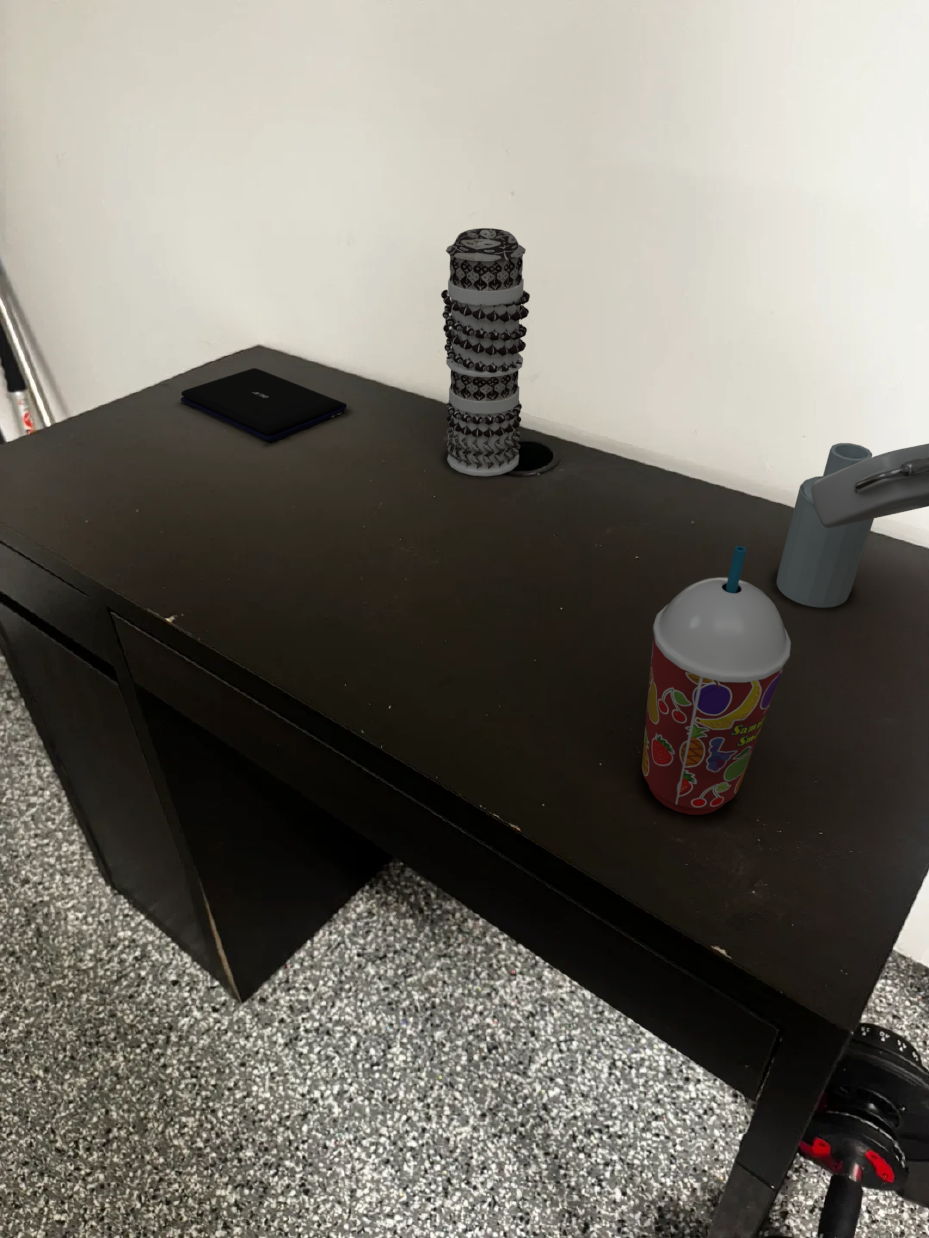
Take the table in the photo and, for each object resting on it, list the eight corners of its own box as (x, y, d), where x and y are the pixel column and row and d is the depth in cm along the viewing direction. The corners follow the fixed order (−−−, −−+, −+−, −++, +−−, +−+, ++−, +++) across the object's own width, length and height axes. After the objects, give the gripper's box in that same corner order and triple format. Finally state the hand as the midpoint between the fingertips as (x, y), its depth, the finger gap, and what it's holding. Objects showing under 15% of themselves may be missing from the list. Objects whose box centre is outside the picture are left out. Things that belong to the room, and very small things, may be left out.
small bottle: (863, 594, 83) (909, 457, 74) (814, 615, 80) (856, 476, 72) (809, 561, 87) (846, 429, 79) (761, 580, 85) (794, 445, 76)
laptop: (278, 371, 127) (277, 357, 125) (358, 416, 114) (357, 401, 113) (174, 399, 118) (171, 385, 117) (247, 451, 106) (245, 436, 105)
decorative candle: (511, 483, 100) (519, 249, 85) (433, 471, 102) (428, 241, 87) (531, 448, 107) (542, 227, 92) (458, 438, 109) (457, 220, 94)
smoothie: (742, 844, 60) (813, 602, 48) (618, 813, 62) (657, 573, 50) (752, 759, 66) (817, 526, 54) (639, 733, 68) (678, 503, 56)
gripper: (907, 516, 58) (779, 564, 71) (1133, 466, 63) (976, 518, 77) (878, 424, 58) (757, 489, 71) (1105, 383, 64) (954, 449, 77)
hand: (872, 504), depth 74 cm, fingers open, 8 cm apart
